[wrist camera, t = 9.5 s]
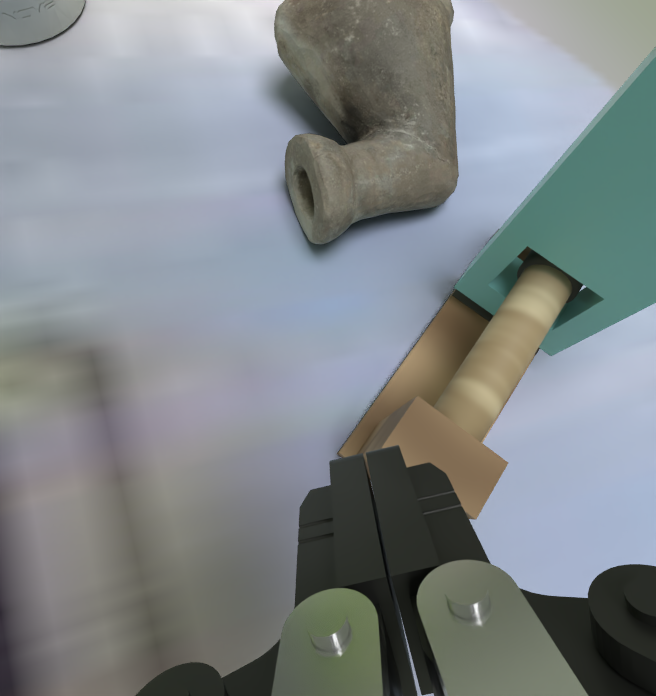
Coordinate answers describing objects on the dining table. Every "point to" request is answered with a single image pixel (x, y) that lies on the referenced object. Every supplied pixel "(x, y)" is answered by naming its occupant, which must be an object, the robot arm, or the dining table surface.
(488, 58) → the dining table surface
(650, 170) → the teal flat board
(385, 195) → the pipe
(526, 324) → the wooden dowel plank
